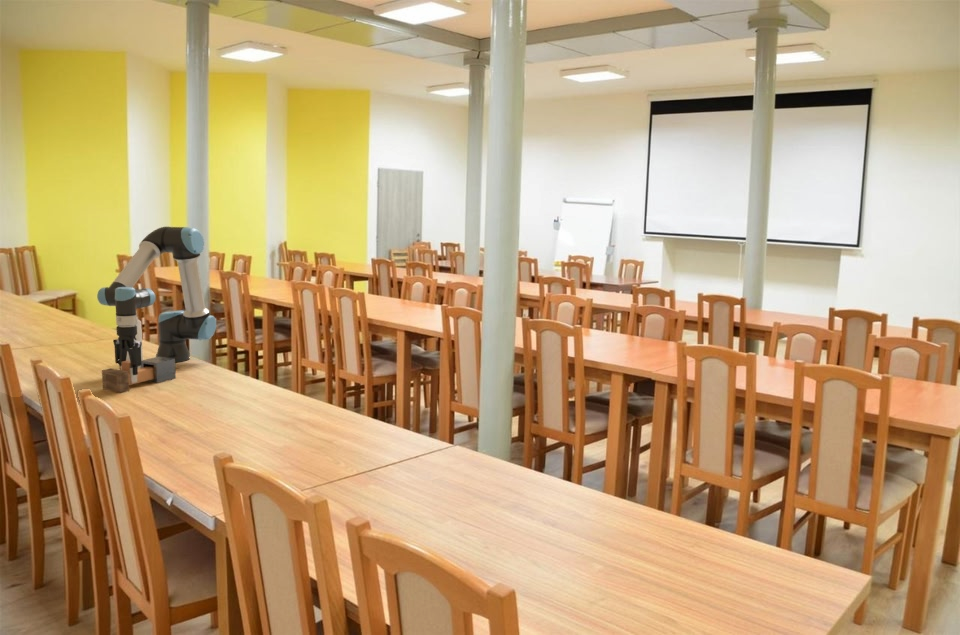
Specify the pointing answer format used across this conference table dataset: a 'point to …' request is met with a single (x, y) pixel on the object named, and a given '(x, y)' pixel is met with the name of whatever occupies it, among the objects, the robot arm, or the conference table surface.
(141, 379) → the inner bar
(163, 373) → the sleeve
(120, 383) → the brown rectangular block
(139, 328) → the bottle
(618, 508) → the conference table surface
